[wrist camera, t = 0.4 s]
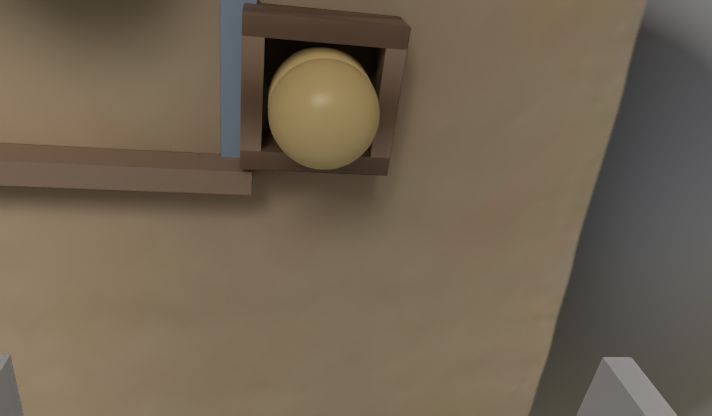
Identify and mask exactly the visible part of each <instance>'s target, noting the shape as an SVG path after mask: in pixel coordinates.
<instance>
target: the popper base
mask: <svg viewBox="0 0 712 416" xmlns="http://www.w3.org/2000/svg"><path fill="white" fill-rule="evenodd" d="M410 30H411V28H410V27H409V26H408V25H407V24H406V23H405V22H404V20H403V19H402V18H401V17H398V16H387V15H377V14H367V13H357V12H346V11H336V10H326V9H316V8H306V7H295V6H285V5H275V4H265V3H257V4H251V3H244V6H243V10H242V50H241V121H240V169H255V170H276V171H297V172H319V173H340V174H362V175H383V176H387V173H388V166H389V160H390V154H391V148H392V142H393V135H394V129H395V123H396V117H397V110H398V104H399V98H400V92H401V86H402V79H403V73H404V67H405V61H406V54H407V48H408V42H409V36H410ZM265 38H275V39H286V40H298V41H309V42H321V43H332V44H343V45H355V46H366V47H376V48H375V56H374V64H373V71H372V79H371V83H372V85H373V87H374V89H375V92H376V95H377V97H378V101H379V107H380V118H379V126H378V130H377V133H376V136H375V138H374V139H373V141H372V143H371V145H370V146H369V148H368V149H367V150H366V151H365V152H364V154H362V155H361V156H360V157H359V158H358V159H356V160H355V161H353V162H352V163H350V164H348V165H345V166H343V167H340V168H336V169H329V170H320V169H313V168H309V167H306V166H303V165H301V164H299V163H297V162H295V161H294V160H292V159H291V158H290V157H288V156H287V155H286V154H285V153H284V152H283V151H282V150H281V148H280V147H279V146H278V144H277V143H276V141H275V139H274V137H273V135H272V133H270V132H262V109H263V80H264V51H265Z"/></svg>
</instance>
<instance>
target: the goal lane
mask: <svg viewBox="0 0 712 416" xmlns="http://www.w3.org/2000/svg"><path fill="white" fill-rule="evenodd" d="M244 3H251V4H257V0H220V54H221V154H205V153H186V152H166V151H146V150H127V149H107V148H87V147H68V146H48V145H28V144H9V143H0V186H25V187H51V188H77V189H102V190H128V191H154V192H180V193H205V194H231V195H251V192H252V177H253V169H240V121H241V50H242V10H243V6H244Z"/></svg>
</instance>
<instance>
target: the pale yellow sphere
mask: <svg viewBox="0 0 712 416" xmlns="http://www.w3.org/2000/svg"><path fill="white" fill-rule="evenodd" d="M379 118H380V107H379V101H378V97H377V95H376V92H375V89H374V87H373V85H372V83H371V81H370V79H369V77H368V75H367V73H366V72H365V70H364V68H363V67H362V66H361V64H360V63H359V62H358V61H357V60H356V59H355V58H353V57H352V56H351V55H349V54H348V53H346V52H344V51H342V50H339V49H336V48H333V47H326V46H315V47H309V48H305V49H302V50H300V51H297V52H296V53H294V54H292V55H290V56H289V57H288V58H287V59H285V60H284V61H283V62H282V63H281V64H280V66H279V67H278V68H277V70H276V71H275V73H274V75H273V77H272V79H271V82H270V86H269V92H268V120H269V126H270V129H271V132H272V135H273V137H274V139H275V141H276V143H277V144H278V146H279V147H280V148H281V150H282V151H283V152H284V153H285V154H286V155H287V156H288V157H290V158H291V159H292V160H294V161H295V162H297V163H299V164H301V165H303V166H306V167H309V168H313V169H320V170H329V169H336V168H340V167H343V166H345V165H348V164H350V163H352V162H353V161H355V160H356V159H358V158H359V157H360V156H361V155H362V154H364V152H365V151H366V150H367V149H368V148H369V146H370V145H371V143H372V141H373V139H374V138H375V136H376V133H377V130H378V126H379Z"/></svg>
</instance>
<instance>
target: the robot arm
mask: <svg viewBox="0 0 712 416" xmlns="http://www.w3.org/2000/svg"><path fill="white" fill-rule="evenodd" d="M0 416H24V415H23V410H22V406H21V401H20V397H19V392H18V387H17V383H16V378H15V374H14V369H13V364H12V360H11V355H10V354H0ZM577 416H677V415H676V413H675V412H674V411H673V410H672V408H671V407H670V406H669V405H668V404H667V402H666V401H665V400H664V398H663V397H662V396H661V394H660V393H659V392H658V391H657V389H656V388H655V387H654V386H653V384H652V383H651V382H650V381H649V379H648V378H647V377H646V375H645V374H644V373H643V372H642V370H641V369H640V368H639V366H638V365H637V364H636V363H635V361H634V360H633V359H632V358H631V357H603V359H602V361H601V363H600V365H599V367H598V369H597V371H596V374H595V376H594V378H593V381H592V382H591V385H590V387H589V389H588V391H587V393H586V396H585V398H584V400H583V402H582V405H581V407H580V409H579V411H578V413H577Z"/></svg>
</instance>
